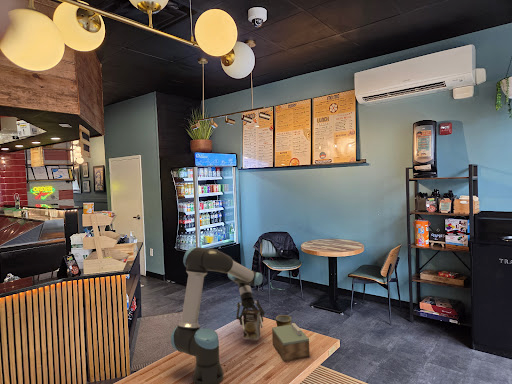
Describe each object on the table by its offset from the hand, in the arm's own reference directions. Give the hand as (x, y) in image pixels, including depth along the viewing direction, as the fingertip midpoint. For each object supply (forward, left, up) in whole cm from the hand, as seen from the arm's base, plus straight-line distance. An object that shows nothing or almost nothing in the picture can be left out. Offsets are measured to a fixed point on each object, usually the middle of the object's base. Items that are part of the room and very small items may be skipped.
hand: (253, 328), depth 198 cm
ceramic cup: (+22, +9, -10) cm, 25 cm away
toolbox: (+18, -14, -10) cm, 25 cm away
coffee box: (0, +3, -7) cm, 7 cm away
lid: (+18, -14, -1) cm, 23 cm away
